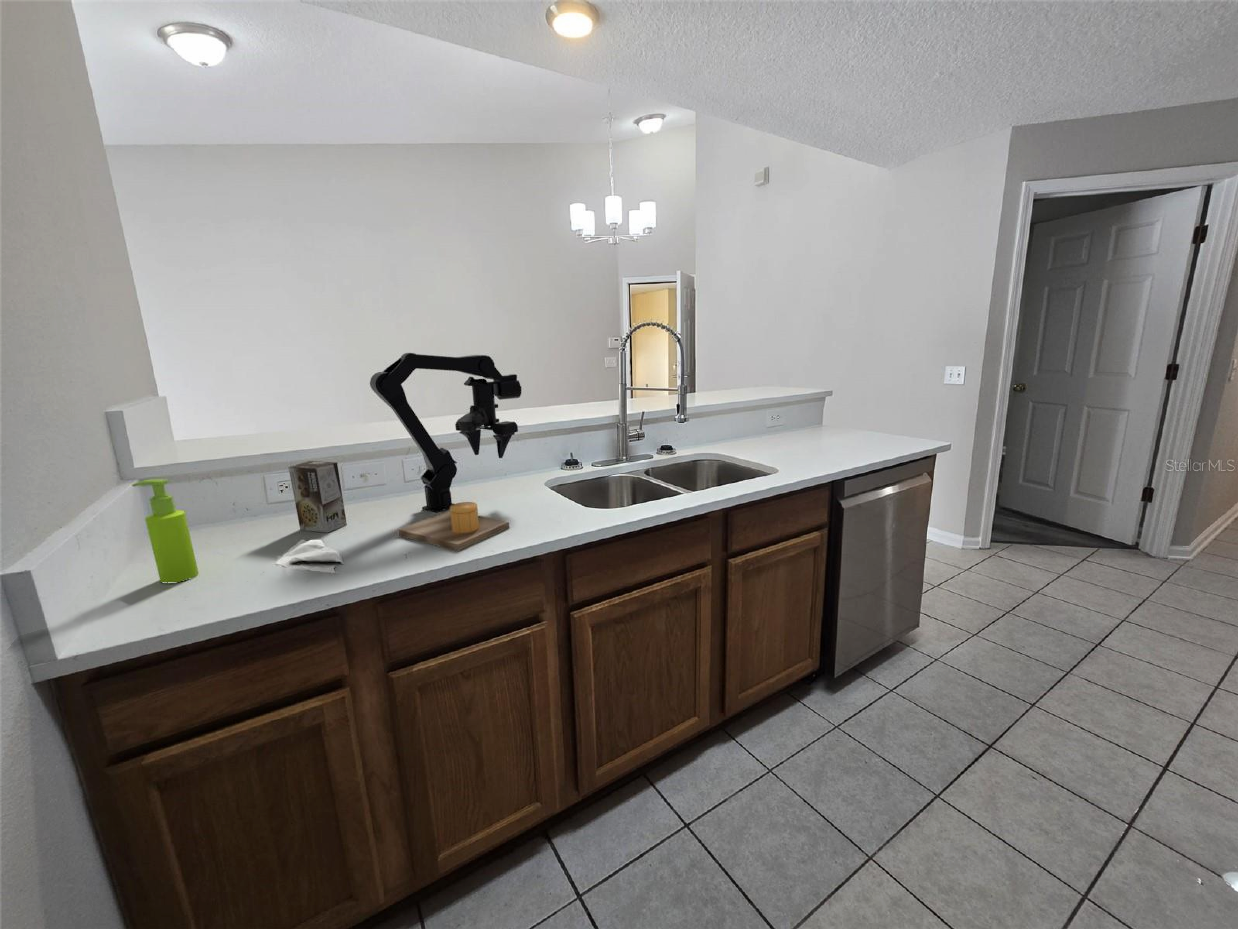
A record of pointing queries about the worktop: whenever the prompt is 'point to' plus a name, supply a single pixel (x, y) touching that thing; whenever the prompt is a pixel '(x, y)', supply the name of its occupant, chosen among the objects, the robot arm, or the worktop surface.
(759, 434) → the worktop surface
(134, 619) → the worktop surface
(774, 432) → the worktop surface
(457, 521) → the cap
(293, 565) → the cloth
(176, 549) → the soap dispenser
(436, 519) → the wooden board
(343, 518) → the coffee box
